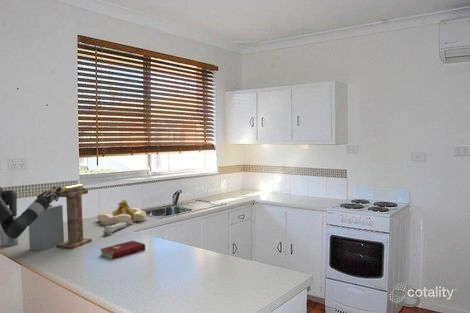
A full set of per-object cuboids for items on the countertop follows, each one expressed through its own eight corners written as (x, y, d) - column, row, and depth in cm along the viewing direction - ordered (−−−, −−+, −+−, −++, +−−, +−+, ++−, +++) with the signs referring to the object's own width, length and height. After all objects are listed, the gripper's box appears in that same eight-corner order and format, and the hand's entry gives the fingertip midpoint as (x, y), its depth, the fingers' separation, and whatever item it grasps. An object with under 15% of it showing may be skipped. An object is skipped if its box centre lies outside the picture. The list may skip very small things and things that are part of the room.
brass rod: (53, 194, 214) (53, 189, 214) (49, 194, 215) (49, 188, 215) (83, 188, 237) (83, 183, 237) (79, 188, 238) (79, 183, 238)
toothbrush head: (127, 221, 273) (108, 225, 249) (127, 231, 273) (108, 235, 249) (121, 221, 274) (101, 224, 250) (120, 231, 274) (101, 235, 250)
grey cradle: (43, 250, 219) (41, 210, 218) (29, 249, 223) (27, 209, 221) (64, 243, 234) (62, 205, 233) (51, 242, 238) (49, 204, 236)
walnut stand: (73, 248, 222) (70, 191, 221) (56, 247, 226) (54, 191, 224) (91, 241, 238) (89, 188, 236) (76, 239, 241) (73, 187, 240)
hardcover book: (145, 250, 218) (145, 243, 218) (112, 260, 202) (112, 252, 202) (133, 246, 226) (132, 239, 226) (100, 255, 210) (100, 248, 210)
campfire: (119, 228, 270) (118, 204, 269) (88, 223, 287) (87, 201, 286) (154, 219, 299) (154, 197, 298) (124, 214, 317) (123, 194, 316)
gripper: (44, 203, 201) (65, 183, 215) (24, 201, 206) (45, 182, 219) (51, 213, 205) (70, 193, 219) (30, 212, 210) (51, 192, 223)
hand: (57, 188), depth 219 cm, fingers closed on brass rod, 3 cm apart
